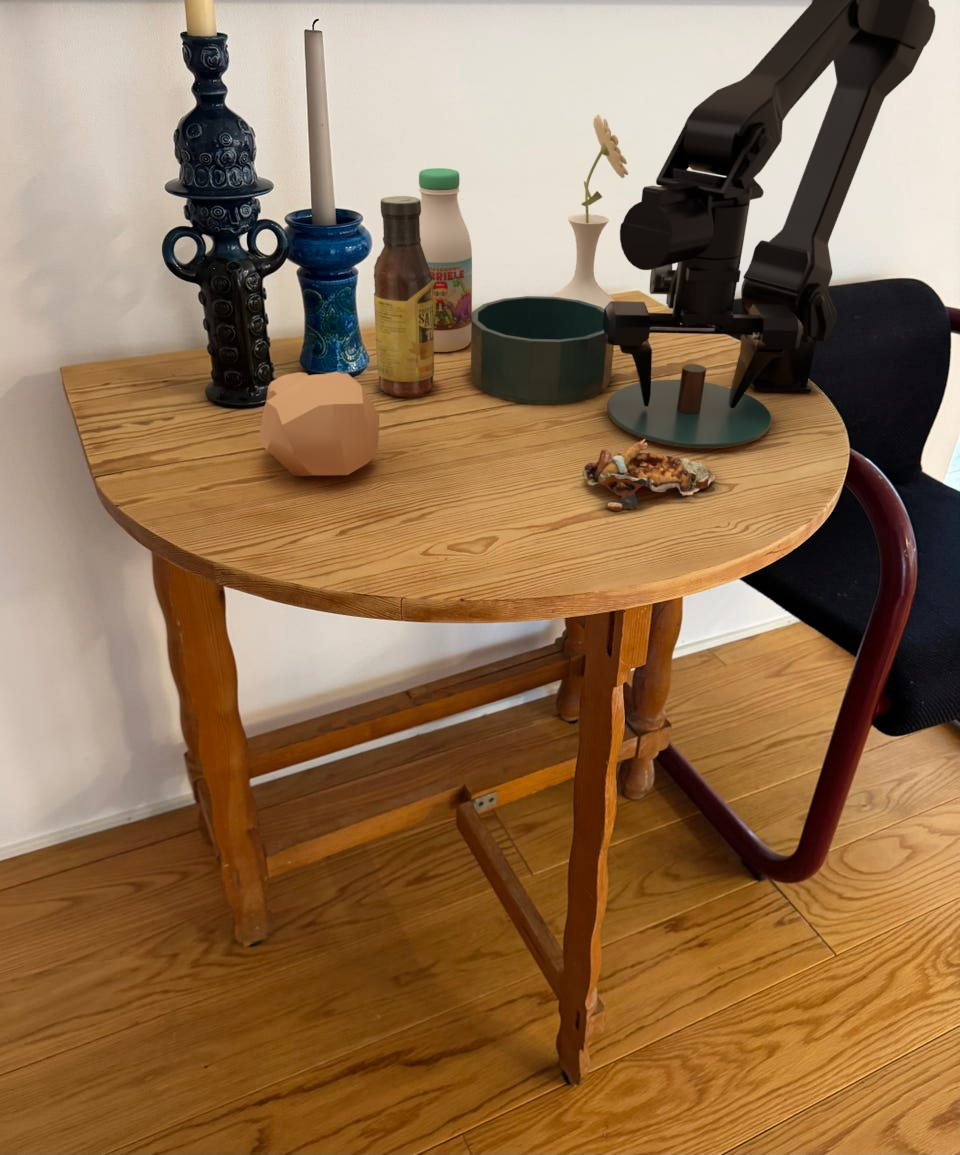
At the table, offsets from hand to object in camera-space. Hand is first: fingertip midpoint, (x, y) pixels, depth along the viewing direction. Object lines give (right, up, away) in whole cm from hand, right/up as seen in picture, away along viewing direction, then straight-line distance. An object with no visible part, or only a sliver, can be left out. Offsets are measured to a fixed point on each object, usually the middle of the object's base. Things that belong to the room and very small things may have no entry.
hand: (688, 405), depth 99 cm
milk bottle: (-27, +11, +20) cm, 35 cm away
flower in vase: (-8, +15, +25) cm, 30 cm away
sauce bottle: (-30, +3, +7) cm, 31 cm away
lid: (0, -1, +1) cm, 1 cm away
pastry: (-6, -9, -12) cm, 16 cm away
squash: (-38, -6, -6) cm, 39 cm away
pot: (-15, +5, +10) cm, 19 cm away
